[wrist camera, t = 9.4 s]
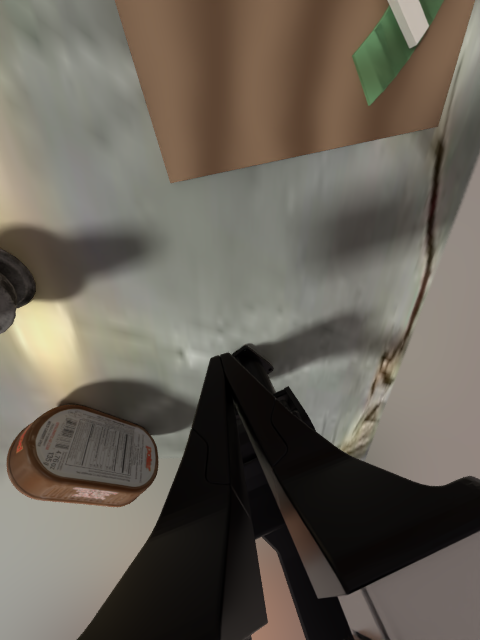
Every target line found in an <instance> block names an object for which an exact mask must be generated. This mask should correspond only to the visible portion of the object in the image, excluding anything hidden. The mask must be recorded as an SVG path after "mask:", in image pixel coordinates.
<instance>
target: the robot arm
mask: <svg viewBox="0 0 480 640" xmlns="http://www.w3.org/2000/svg"><path fill="white" fill-rule="evenodd" d="M244 350H245V351H244ZM273 369H274V368H273V366H272V365H271V364H270V363H268V362H267V361H266V360H264V359H263V358H262V357H261V356H259V355H258V354H257V353H256V352H254V351H253V350H252V349H250V348H249V347H248V346H243V347H242V348H241V349H240V350H238V351H237V352H236V353H235V354H233V355H231V354H230V353H224V354H221V355H220V356H219V355H218V356H215V357H212V358H211V359H210V362H209V366H208V369H207V373H206V377H205V380H204V384H203V388H202V391H201V395H200V399H199V402H198V406H197V409H196V413H195V417H194V420H193V424H192V429H191V431H190V435H189V438H188V442H187V445H186V448H185V451H184V454H183V457H182V460H181V463H180V465H179V468H178V471H177V473H176V476H175V479H174V481H173V484H172V486H171V489H170V491H169V494H168V496H167V499H166V502H165V504H164V507H163V509H162V512H161V514H160V517H159V519H158V521H157V523H156V526H155V527H154V529H153V531H152V533H151V535H150V536H149V538H148V540H147V541H146V543H145V544H144V546H143V547H142V549H141V550H140V552H139V553H138V555H137V556H136V558H135V559H134V561H133V562H132V563H131V565H130V566H129V568H128V569H127V571H126V572H125V573H124V575H123V576H122V578H121V579H120V581H119V582H118V584H117V585H116V587H115V588H114V590H113V591H112V592H111V594H110V595H109V597H108V598H107V600H106V601H105V603H104V604H103V605H102V607H101V608H100V610H99V611H98V613H97V614H96V616H95V617H94V619H93V620H92V621H91V623H90V624H89V625H88V627H87V628H86V629H85V631H84V632H83V633H82V634H81V635H80V637H79V638H78V639H77V640H252V638H251V635H252V634H253V633H254V632H256V631H257V630H259V629H260V628H261V627H263V626H264V625H266V624H267V623H268V620H267V614H266V608H265V601H264V595H263V588H262V582H261V576H260V569H259V563H258V556H257V550H256V543H255V539H258V538H260V537H262V538H263V539H264V540H265V541H266V542H267V543H268V544H269V545H270V546H271V547H272V548H273V549H274V550H275V551H276V552H277V554H278V557H279V560H280V563H281V565H282V568H283V572H284V575H285V578H286V581H287V584H288V587H289V589H290V593H291V596H292V599H293V602H294V605H295V608H296V611H297V614H298V617H299V620H300V623H301V626H302V629H303V632H304V635H305V638H306V640H480V479H478V478H475V477H472V476H468V477H463V478H461V479H458V480H456V481H453V482H451V483H449V484H447V485H444V486H428V485H423V484H419V483H416V482H413V481H411V480H408V479H406V478H403V477H401V476H399V475H396V474H394V473H391V472H389V471H386V470H384V469H381V468H378V467H376V466H373V465H371V464H369V463H366V462H364V461H361V460H359V459H356V458H354V457H352V456H350V455H348V454H346V453H345V452H343V451H342V450H340V449H338V448H337V447H336V446H334V445H333V444H332V443H330V442H329V441H328V440H326V439H325V438H324V437H322V436H321V435H320V434H318V433H317V432H316V430H315V428H314V426H313V424H312V422H311V420H310V418H309V417H308V415H307V413H306V412H305V410H304V409H303V407H302V406H301V404H300V403H299V401H298V400H297V398H296V397H295V395H294V394H293V392H292V391H291V389H290V388H289V386H288V387H286V388H284V389H283V390H281V391H279V392H276V391H275V389H274V387H273V385H272V383H271V381H270V379H269V377H268V374H269V373H270V372H272V371H273Z"/></svg>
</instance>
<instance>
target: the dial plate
mask: <svg viewBox="0 0 480 640" xmlns="http://www.w3.org/2000/svg"><path fill="white" fill-rule="evenodd" d="M115 2H116V6H117V9H118V12H119V16H120V19H121V22H122V25H123V29H124V32H125V35H126V39H127V42H128V45H129V48H130V52H131V55H132V58H133V62H134V65H135V68H136V71H137V75H138V78H139V81H140V85H141V88H142V91H143V94H144V98H145V101H146V104H147V108H148V111H149V114H150V117H151V121H152V124H153V127H154V130H155V134H156V137H157V140H158V144H159V147H160V150H161V153H162V157H163V160H164V163H165V167H166V170H167V173H168V176H169V180H170V183H174V182H178V181H183V180H188V179H192V178H197V177H202V176H207V175H211V174H216V173H221V172H225V171H230V170H235V169H240V168H244V167H249V166H254V165H258V164H263V163H268V162H273V161H277V160H282V159H287V158H291V157H296V156H301V155H306V154H310V153H315V152H320V151H324V150H329V149H334V148H339V147H343V146H348V145H353V144H357V143H362V142H367V141H372V140H376V139H381V138H386V137H390V136H395V135H400V134H405V133H409V132H414V131H419V130H423V129H428V128H433V127H438V124H439V121H440V117H441V114H442V111H443V107H444V104H445V100H446V97H447V94H448V90H449V87H450V83H451V80H452V77H453V73H454V70H455V66H456V63H457V60H458V56H459V53H460V49H461V46H462V43H463V39H464V36H465V32H466V29H467V26H468V22H469V19H470V15H471V12H472V9H473V5H474V2H475V0H419V2H420V4H421V7H422V9H423V12H424V15H425V17H426V20H427V22H428V25H429V27H428V29H427V30H426V32H425V33H424V35H423V36H422V38H421V39H420V41H419V42H418V44H417V45H416V46H414V47H412V48H410V49H409V46H408V44H407V42H406V40H405V38H404V35H403V33H402V31H401V29H400V27H399V25H398V22H397V20H396V18H395V16H394V14H393V12H392V9H391V7H390V5H389V3H388V1H387V0H115Z"/></svg>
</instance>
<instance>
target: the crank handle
mask: <svg viewBox="0 0 480 640" xmlns="http://www.w3.org/2000/svg"><path fill="white" fill-rule="evenodd" d="M387 1H388V3H389V5H390V7H391V9H392V12H393V14H394V16H395V18H396V20H397V22H398V25H399V27H400V29H401V31H402V33H403V35H404V38H405V40H406V42H407V44H408V46H409V49H410V48H412V47H414V46H416V45H417V44H418V42H419V41H420V39H421V38H422V36H423V35H424V33H425V32H426V30H427V29H428V27H429V25H428V22H427V20H426V17H425V15H424V12H423V9H422V7H421V4H420V2H419V0H387Z"/></svg>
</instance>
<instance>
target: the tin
mask: <svg viewBox="0 0 480 640" xmlns="http://www.w3.org/2000/svg"><path fill="white" fill-rule="evenodd" d="M157 471H158V452H157V446H156V444H155V442H154V440H153V438H152V437H151V435H150V434H149V433H148V432H147V431H146V430H145V429H144V428H142V427H141V426H139V425H136V424H133V423H131V422H128V421H125V420H122V419H119V418H117V417H114V416H111V415H108V414H105V413H102V412H99V411H97V410H94V409H91V408H88V407H85V406H81V405H63V406H59V407H56V408H53V409H51V410H49V411H47V412H46V413H44V414H43V415H41V416H40V417H39V418H37V419H36V420H35V421H34V422H33V423H31V424H30V425H28V426H27V427H26V428H24V429H23V430H22V431H21V432H20V433H19V434H18V435H17V437H16V438H15V440H14V441H13V443H12V445H11V447H10V449H9V452H8V456H7V472H8V476H9V479H10V480H11V482H12V484H13V485H14V486H15V487H16V489H17V490H18V491H20V492H21V493H22V494H24V495H25V496H27V497H30V498H33V499H36V500H42V501H53V502H66V503H77V504H88V505H98V506H108V507H121V506H125V505H127V504H130V503H131V502H133V501H134V500H135V499H136V498H137V497H138V496H139V495H140V494H141V493H143V492H144V491H145V490H146V489H147V488H148V487H149V486H150V485H151V484H152V483H153V481H154V479H155V477H156V475H157Z"/></svg>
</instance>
